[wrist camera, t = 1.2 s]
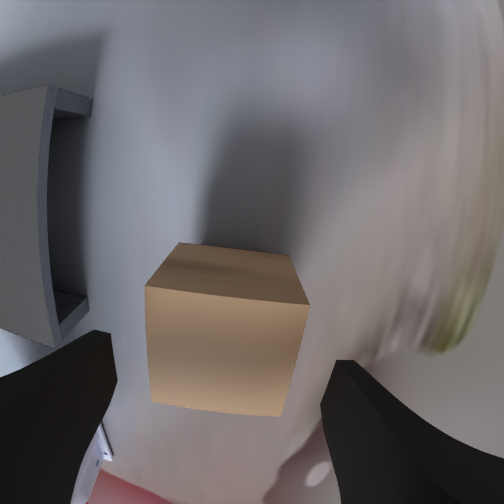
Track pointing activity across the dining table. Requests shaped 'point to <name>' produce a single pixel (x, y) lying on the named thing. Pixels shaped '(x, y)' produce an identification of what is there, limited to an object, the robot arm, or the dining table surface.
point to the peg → (224, 329)
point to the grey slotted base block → (32, 216)
